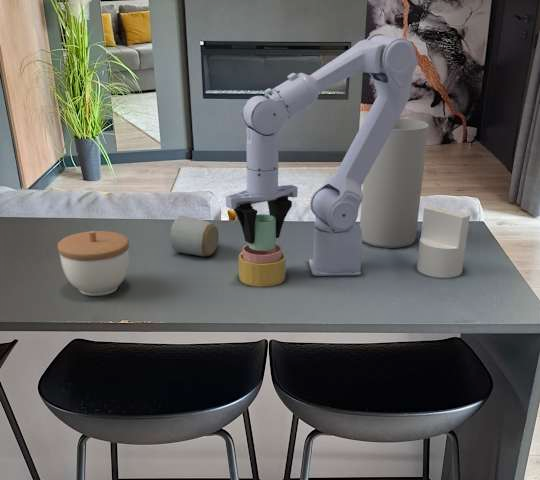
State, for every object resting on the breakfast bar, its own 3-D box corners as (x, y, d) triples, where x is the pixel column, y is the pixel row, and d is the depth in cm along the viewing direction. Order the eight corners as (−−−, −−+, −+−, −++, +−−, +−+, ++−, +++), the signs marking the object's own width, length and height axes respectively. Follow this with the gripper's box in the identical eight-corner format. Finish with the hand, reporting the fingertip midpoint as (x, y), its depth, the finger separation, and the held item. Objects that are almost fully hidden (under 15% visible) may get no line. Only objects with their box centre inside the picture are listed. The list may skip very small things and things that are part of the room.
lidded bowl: (59, 280, 136) (51, 225, 131) (125, 271, 140) (119, 217, 135) (69, 306, 126) (60, 247, 121) (139, 296, 130) (134, 238, 125)
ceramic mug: (205, 262, 145) (204, 225, 142) (170, 256, 148) (168, 220, 144) (227, 246, 154) (226, 212, 150) (193, 241, 156) (192, 207, 153)
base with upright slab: (408, 269, 143) (414, 211, 137) (431, 257, 149) (438, 201, 143) (447, 281, 137) (455, 221, 132) (470, 269, 143) (479, 211, 137)
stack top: (279, 270, 142) (280, 241, 139) (282, 285, 135) (283, 255, 132) (242, 270, 142) (242, 241, 139) (243, 285, 135) (243, 255, 132)
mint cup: (274, 241, 138) (274, 214, 135) (276, 250, 133) (276, 222, 131) (248, 241, 137) (248, 214, 135) (249, 251, 133) (249, 222, 130)
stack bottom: (283, 268, 143) (283, 247, 140) (286, 286, 135) (287, 264, 133) (238, 269, 142) (238, 248, 140) (239, 287, 134) (239, 264, 132)
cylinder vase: (382, 252, 151) (393, 132, 139) (347, 235, 160) (355, 121, 148) (427, 243, 156) (441, 126, 144) (391, 227, 166) (402, 116, 154)
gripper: (283, 157, 134) (282, 226, 141) (216, 167, 127) (218, 240, 134) (304, 165, 129) (302, 236, 136) (236, 176, 122) (237, 251, 129)
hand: (262, 239), depth 135 cm, fingers closed on mint cup, 5 cm apart
